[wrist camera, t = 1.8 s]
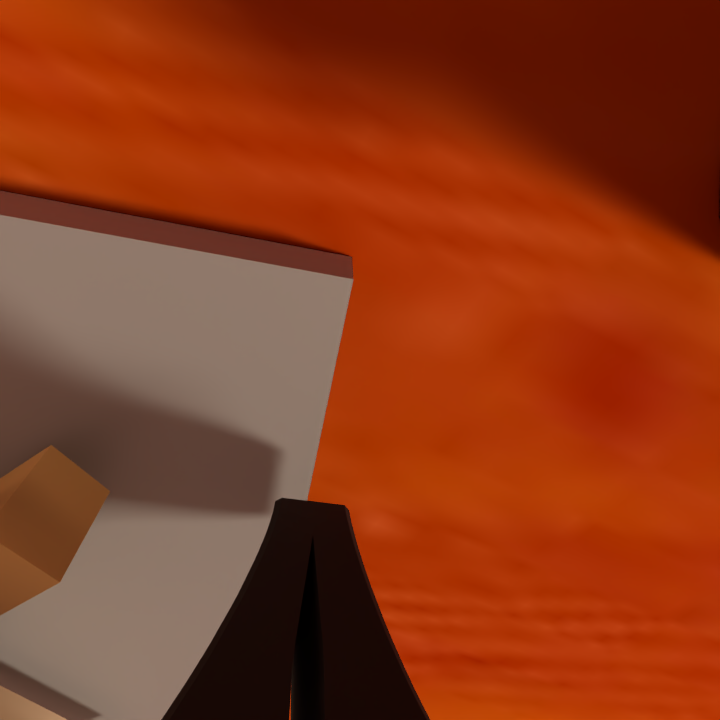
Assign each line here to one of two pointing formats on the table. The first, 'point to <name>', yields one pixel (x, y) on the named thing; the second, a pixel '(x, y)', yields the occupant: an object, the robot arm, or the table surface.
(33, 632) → the stand board
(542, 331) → the table surface
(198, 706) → the robot arm
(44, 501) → the capstan
